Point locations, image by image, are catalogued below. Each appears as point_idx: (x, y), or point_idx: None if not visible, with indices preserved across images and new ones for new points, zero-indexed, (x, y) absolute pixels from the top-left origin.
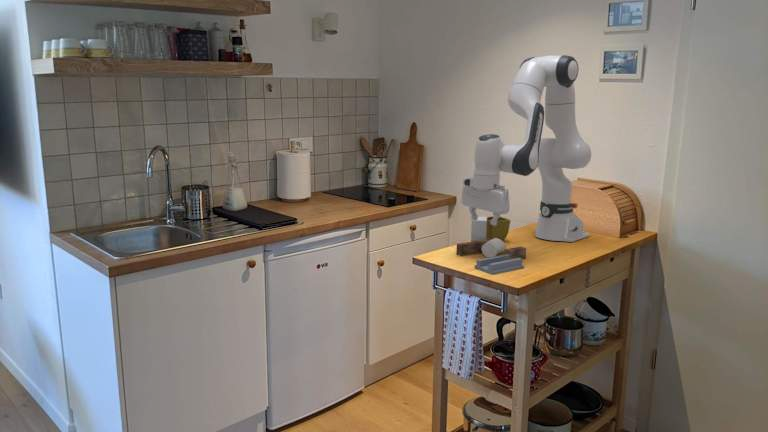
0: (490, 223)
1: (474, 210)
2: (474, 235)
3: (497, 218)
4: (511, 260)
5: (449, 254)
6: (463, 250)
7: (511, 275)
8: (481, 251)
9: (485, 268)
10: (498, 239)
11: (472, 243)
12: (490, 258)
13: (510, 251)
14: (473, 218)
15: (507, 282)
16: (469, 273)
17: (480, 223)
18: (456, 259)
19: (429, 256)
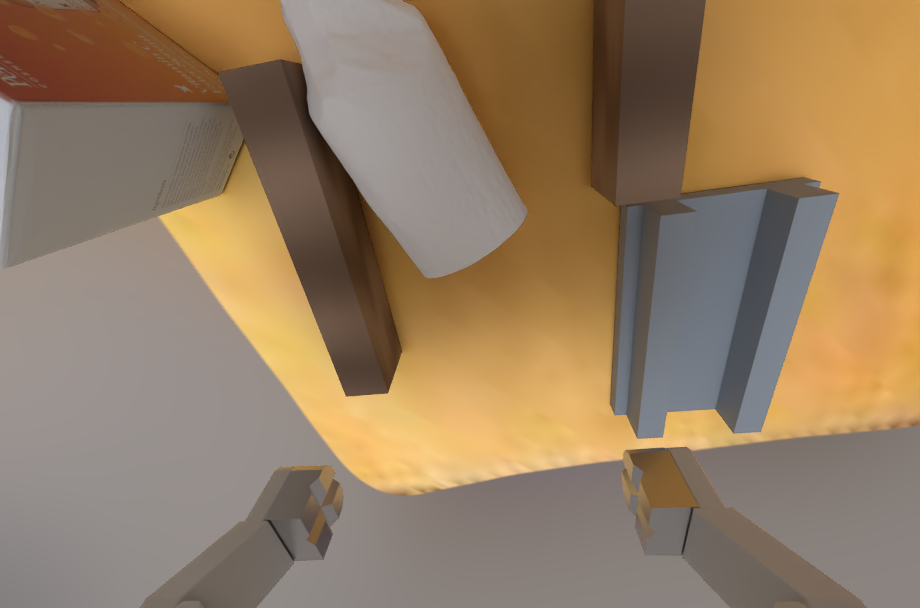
0: (633, 504)
1: (204, 595)
2: (161, 196)
3: (766, 550)
4: (794, 292)
5: None
6: (391, 356)
7: (825, 332)
8: (357, 205)
9: (689, 406)
10: (403, 113)
11: (362, 314)
12: (664, 371)
13: (679, 189)
14: (327, 520)
15: (871, 406)
16: None
17: (52, 177)
18: (443, 393)
19: (358, 453)
